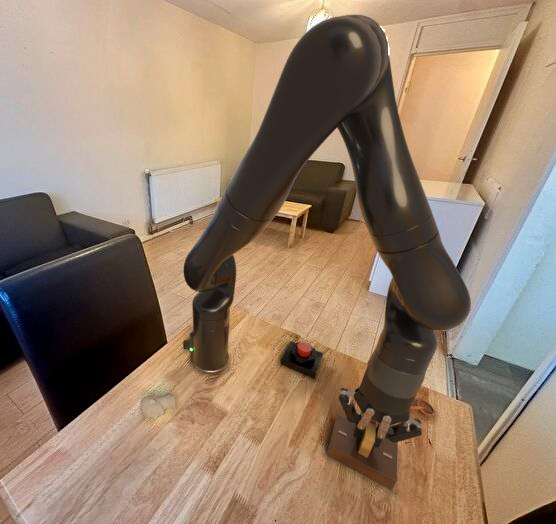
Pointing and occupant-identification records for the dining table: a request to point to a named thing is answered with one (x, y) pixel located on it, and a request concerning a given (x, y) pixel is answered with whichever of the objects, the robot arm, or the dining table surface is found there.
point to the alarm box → (301, 360)
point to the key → (422, 408)
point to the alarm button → (303, 349)
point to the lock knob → (368, 438)
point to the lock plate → (346, 452)
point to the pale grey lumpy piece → (156, 405)
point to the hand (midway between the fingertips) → (365, 440)
